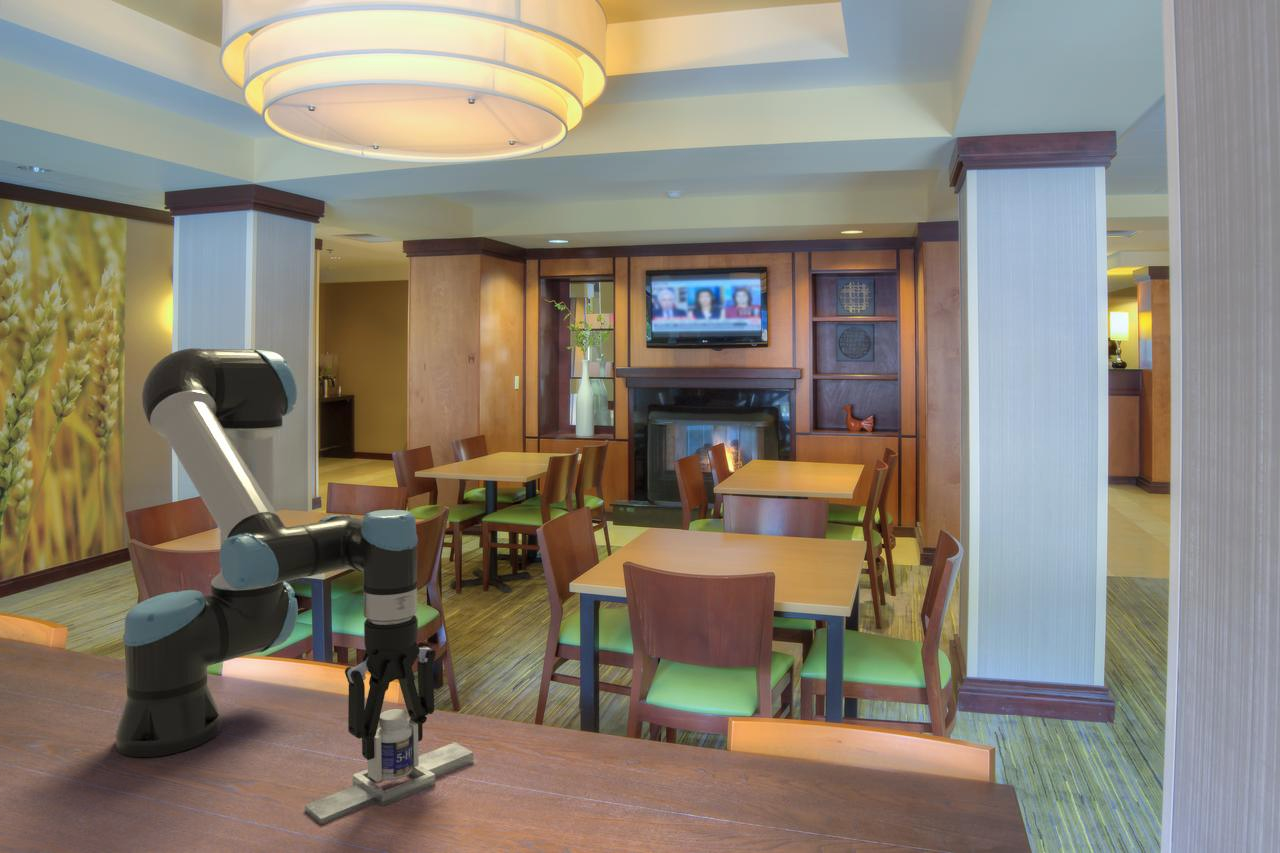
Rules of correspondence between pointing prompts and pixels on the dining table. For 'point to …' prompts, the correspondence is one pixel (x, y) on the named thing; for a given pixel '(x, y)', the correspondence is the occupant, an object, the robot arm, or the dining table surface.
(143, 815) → the dining table surface
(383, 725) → the pill bottle
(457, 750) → the square frame bracket
